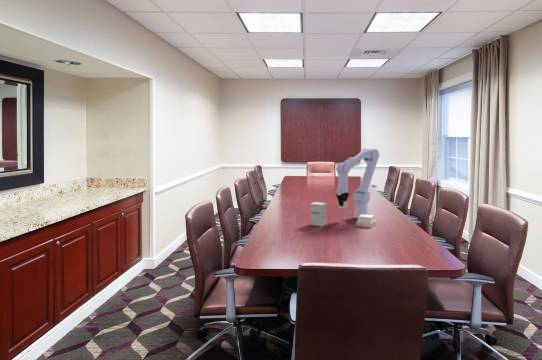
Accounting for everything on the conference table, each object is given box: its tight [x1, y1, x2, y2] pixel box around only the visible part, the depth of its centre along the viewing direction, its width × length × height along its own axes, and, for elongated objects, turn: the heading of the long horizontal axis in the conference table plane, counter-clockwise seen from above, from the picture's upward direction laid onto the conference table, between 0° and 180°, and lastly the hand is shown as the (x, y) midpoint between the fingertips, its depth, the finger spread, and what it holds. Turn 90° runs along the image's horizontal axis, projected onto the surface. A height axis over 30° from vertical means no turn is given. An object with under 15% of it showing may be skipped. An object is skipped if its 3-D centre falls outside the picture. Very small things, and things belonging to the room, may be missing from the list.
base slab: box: [355, 219, 377, 229], centre depth 224 cm, size 9×9×3 cm
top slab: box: [357, 214, 375, 223], centre depth 224 cm, size 8×8×3 cm
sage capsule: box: [338, 201, 347, 209], centre depth 235 cm, size 4×4×4 cm
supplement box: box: [309, 201, 327, 227], centre depth 225 cm, size 7×7×13 cm
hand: (342, 205), depth 235 cm, fingers closed on sage capsule, 4 cm apart
